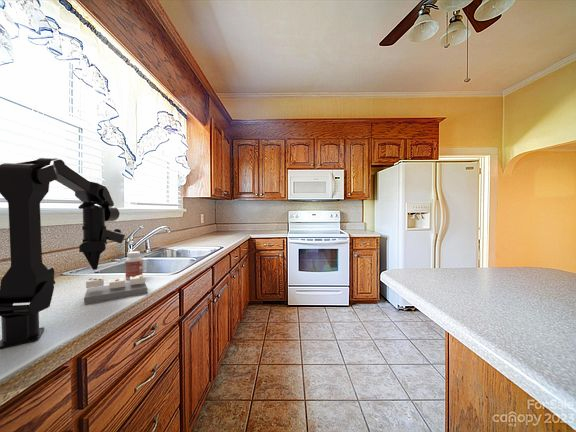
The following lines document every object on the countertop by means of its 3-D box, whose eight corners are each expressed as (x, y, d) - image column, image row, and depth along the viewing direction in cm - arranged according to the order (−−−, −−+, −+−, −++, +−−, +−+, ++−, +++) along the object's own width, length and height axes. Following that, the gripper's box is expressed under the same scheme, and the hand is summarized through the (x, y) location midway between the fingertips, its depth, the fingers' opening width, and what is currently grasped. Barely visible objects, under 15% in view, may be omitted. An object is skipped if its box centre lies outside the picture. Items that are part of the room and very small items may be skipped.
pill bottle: (142, 278, 104) (142, 252, 104) (125, 280, 101) (125, 254, 101) (142, 275, 109) (141, 250, 109) (125, 277, 106) (125, 251, 106)
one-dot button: (125, 286, 85) (125, 280, 85) (109, 288, 82) (109, 282, 82) (124, 283, 88) (124, 277, 88) (109, 285, 86) (109, 279, 86)
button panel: (147, 293, 86) (147, 287, 86) (84, 304, 76) (84, 297, 76) (144, 285, 95) (144, 280, 95) (87, 294, 85) (87, 288, 85)
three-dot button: (103, 285, 81) (103, 279, 81) (86, 288, 79) (86, 281, 79) (103, 282, 85) (103, 276, 85) (87, 284, 82) (87, 278, 82)
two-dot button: (145, 282, 88) (145, 276, 88) (130, 285, 86) (130, 278, 86) (144, 280, 92) (143, 274, 92) (130, 282, 89) (129, 276, 89)
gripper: (124, 223, 78) (125, 271, 79) (122, 221, 93) (123, 261, 94) (78, 224, 72) (79, 277, 72) (84, 221, 87) (85, 265, 87)
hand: (95, 269), depth 82 cm, fingers closed
